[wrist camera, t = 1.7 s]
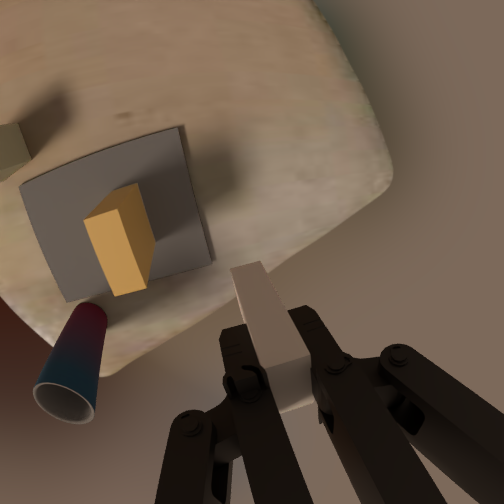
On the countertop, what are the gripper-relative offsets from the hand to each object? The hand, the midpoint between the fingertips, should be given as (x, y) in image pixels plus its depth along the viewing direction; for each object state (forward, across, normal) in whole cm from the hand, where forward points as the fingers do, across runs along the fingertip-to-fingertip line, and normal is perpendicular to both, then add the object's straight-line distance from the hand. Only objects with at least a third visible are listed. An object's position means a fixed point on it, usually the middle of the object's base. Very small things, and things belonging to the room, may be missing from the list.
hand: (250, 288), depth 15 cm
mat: (+20, -12, 0) cm, 23 cm away
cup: (+20, -20, -11) cm, 30 cm away
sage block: (+20, -22, +13) cm, 32 cm away
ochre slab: (+19, -9, 0) cm, 21 cm away
